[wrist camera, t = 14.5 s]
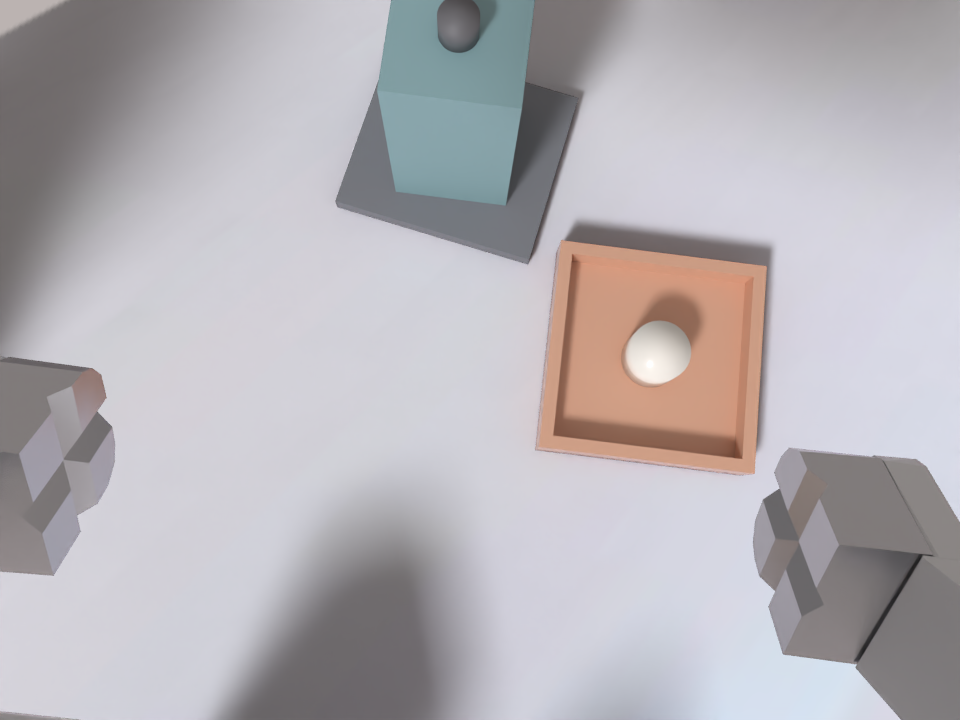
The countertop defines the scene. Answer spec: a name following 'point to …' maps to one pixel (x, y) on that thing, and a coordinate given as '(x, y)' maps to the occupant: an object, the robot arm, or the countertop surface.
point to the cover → (454, 95)
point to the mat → (459, 219)
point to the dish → (695, 394)
